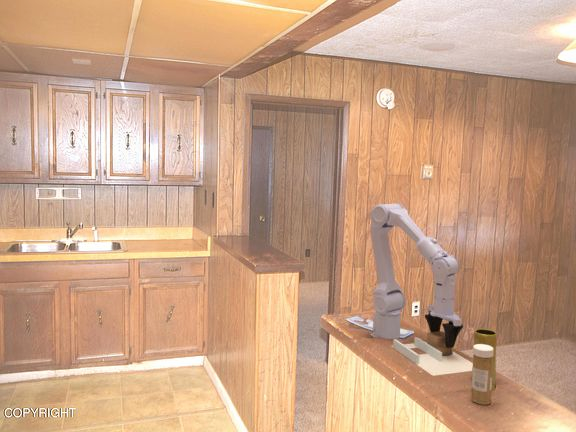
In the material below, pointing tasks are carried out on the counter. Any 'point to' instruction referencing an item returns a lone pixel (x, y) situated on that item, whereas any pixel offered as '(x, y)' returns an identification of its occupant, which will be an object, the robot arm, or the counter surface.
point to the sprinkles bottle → (482, 374)
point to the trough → (420, 345)
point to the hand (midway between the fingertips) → (442, 342)
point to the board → (442, 363)
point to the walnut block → (438, 341)
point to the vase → (489, 339)
